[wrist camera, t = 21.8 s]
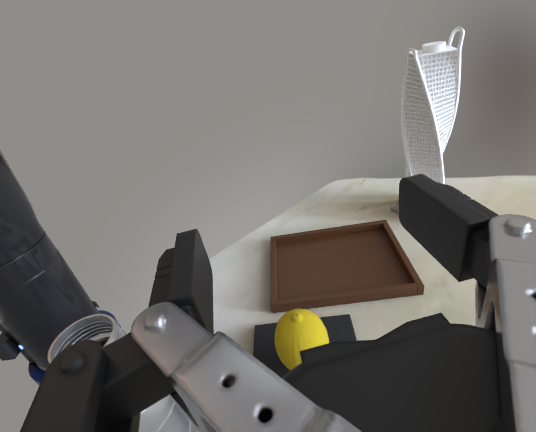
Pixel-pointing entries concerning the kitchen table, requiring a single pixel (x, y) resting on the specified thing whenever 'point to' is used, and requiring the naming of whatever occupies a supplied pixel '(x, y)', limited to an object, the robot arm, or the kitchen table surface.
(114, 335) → the silver metal flask
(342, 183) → the kitchen table surface
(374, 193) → the kitchen table surface
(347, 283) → the tray
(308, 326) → the lemon
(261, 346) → the plate
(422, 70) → the skyscraper
